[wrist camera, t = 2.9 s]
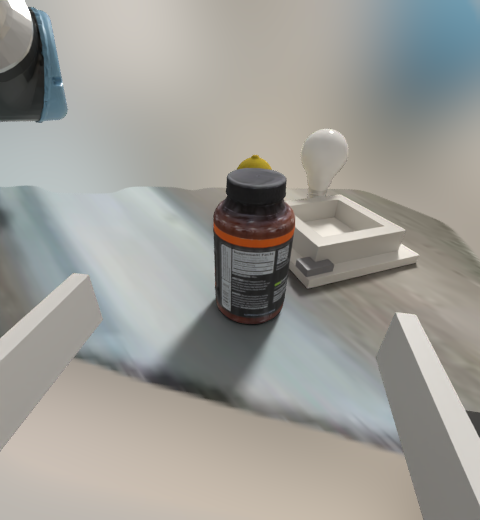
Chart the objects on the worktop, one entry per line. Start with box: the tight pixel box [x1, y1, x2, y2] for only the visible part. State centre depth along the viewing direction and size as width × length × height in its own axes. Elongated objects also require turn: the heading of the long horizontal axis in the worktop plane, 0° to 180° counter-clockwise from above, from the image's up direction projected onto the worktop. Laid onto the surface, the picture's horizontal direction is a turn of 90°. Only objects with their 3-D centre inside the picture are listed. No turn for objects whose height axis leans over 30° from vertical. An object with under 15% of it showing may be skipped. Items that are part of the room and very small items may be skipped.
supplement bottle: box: [213, 168, 295, 324], centre depth 22 cm, size 6×6×11 cm
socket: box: [284, 194, 419, 289], centre depth 34 cm, size 14×14×4 cm
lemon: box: [237, 155, 272, 170], centre depth 40 cm, size 6×6×8 cm
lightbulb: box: [301, 129, 349, 199], centre depth 41 cm, size 6×6×11 cm
